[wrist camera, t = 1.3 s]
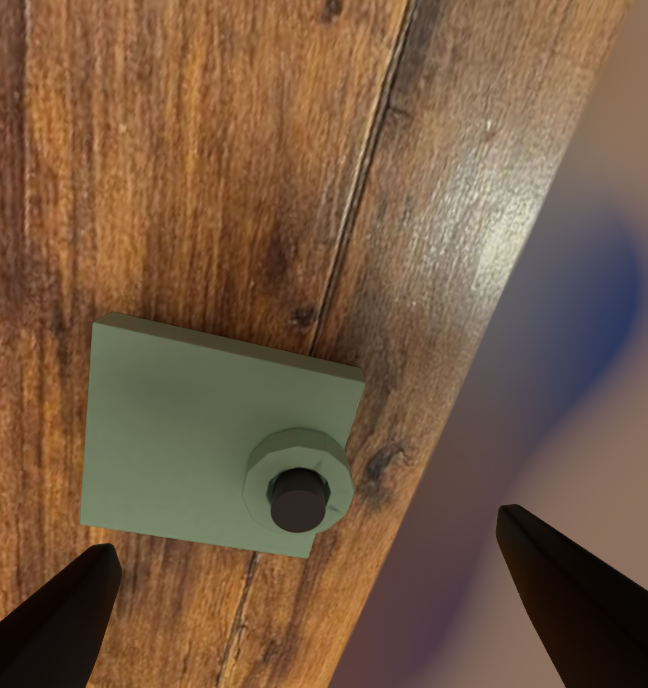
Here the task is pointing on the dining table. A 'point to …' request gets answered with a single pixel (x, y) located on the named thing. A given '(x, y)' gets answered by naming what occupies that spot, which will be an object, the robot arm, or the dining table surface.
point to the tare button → (298, 501)
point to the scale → (210, 434)
